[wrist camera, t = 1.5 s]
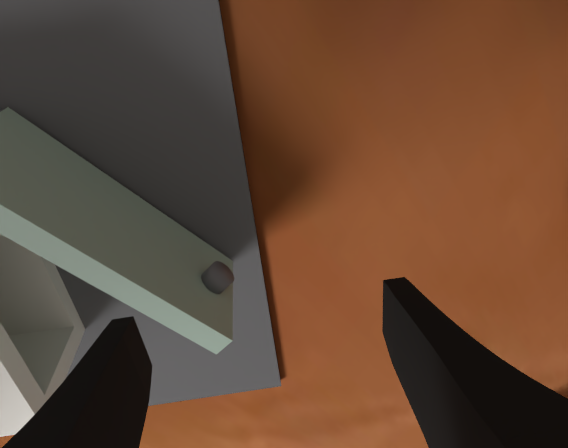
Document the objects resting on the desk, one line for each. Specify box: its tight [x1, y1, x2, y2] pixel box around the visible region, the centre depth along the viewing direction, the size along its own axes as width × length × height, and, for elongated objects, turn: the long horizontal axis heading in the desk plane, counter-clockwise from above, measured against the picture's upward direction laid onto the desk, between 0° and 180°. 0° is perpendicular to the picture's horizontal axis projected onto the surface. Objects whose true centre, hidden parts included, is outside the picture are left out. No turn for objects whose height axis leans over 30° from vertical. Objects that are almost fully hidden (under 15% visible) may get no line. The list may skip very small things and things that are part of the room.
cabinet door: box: [0, 107, 234, 355], centre depth 17 cm, size 12×2×5 cm, turn 46°
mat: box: [0, 0, 281, 406], centre depth 21 cm, size 26×20×1 cm
